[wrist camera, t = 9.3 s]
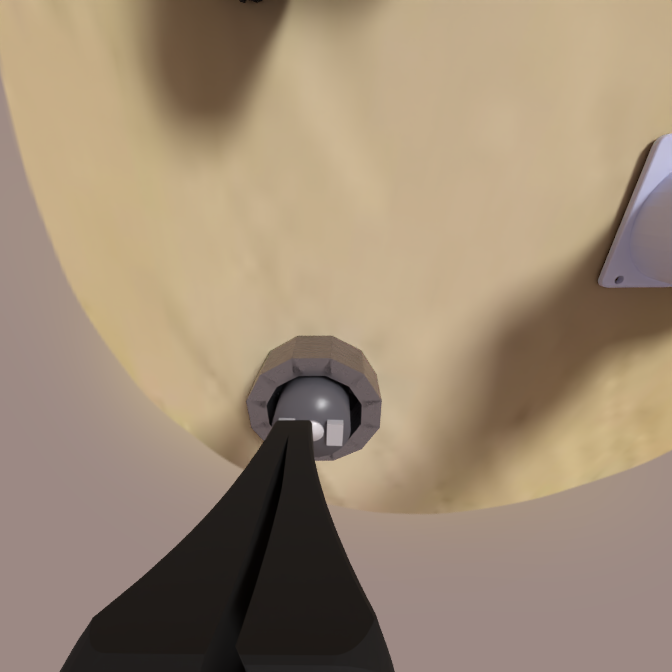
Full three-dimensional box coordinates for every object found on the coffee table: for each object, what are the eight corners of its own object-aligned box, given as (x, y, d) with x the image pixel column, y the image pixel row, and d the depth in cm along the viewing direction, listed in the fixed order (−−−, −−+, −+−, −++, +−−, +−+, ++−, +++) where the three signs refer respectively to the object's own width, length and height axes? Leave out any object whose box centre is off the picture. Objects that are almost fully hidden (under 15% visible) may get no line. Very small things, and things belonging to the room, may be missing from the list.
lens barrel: (378, 335, 20) (384, 357, 18) (373, 430, 25) (377, 460, 22) (251, 336, 21) (238, 358, 18) (266, 431, 25) (257, 460, 22)
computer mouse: (350, 363, 21) (353, 404, 17) (347, 417, 23) (348, 463, 19) (281, 361, 21) (267, 401, 17) (284, 414, 23) (273, 461, 19)
